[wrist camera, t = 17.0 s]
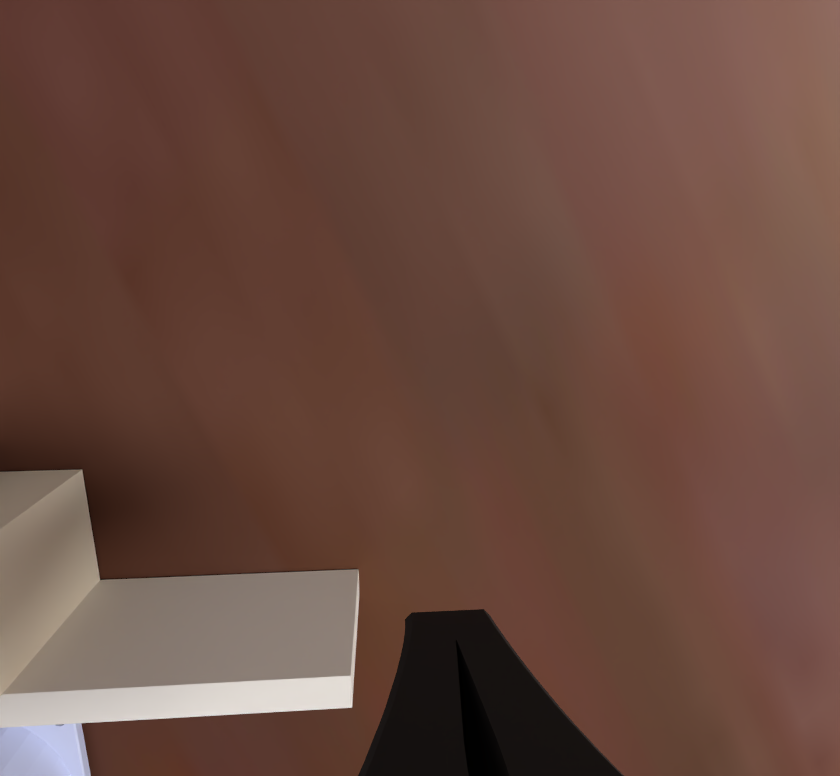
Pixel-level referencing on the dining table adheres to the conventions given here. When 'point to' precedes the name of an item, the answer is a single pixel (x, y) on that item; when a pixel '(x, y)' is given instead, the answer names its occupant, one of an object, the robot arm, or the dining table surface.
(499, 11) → the dining table surface
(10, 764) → the robot arm
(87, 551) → the wall shelf
